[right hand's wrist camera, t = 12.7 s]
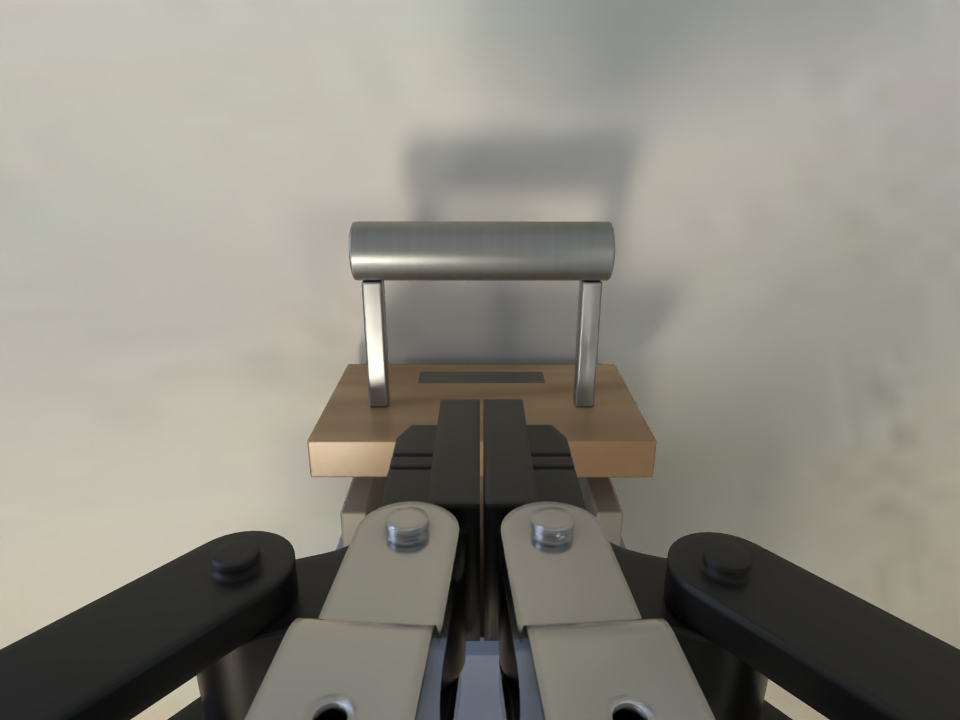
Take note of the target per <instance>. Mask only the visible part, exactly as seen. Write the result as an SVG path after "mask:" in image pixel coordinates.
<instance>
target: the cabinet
mask: <svg viewBox="0 0 960 720" xmlns="http://www.w3.org/2000/svg"><path fill="white" fill-rule="evenodd" d="M620 547H622V548H624V549H626V548H625V545H624V542H623V539H622V536H621V540H620ZM341 548H343V537H342V534H341V537H340V540H339V543H338V546H337V549H336V550H338V549H341ZM457 720H503V719H502V711H501V703H500V695H499V641H484V637H480V641H466V658H465V665H464V667H463V670H462V672H461V695H460V703H459V711H458V719H457Z"/></svg>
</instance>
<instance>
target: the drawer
mask: <svg viewBox="0 0 960 720" xmlns="http://www.w3.org/2000/svg"><path fill="white" fill-rule="evenodd" d="M349 259H350V267H351V272H352V275H353V278H354V279H355V280H363V282H362V297H363V313H364V329H365V345H366V361H367V364H349V365H348V366H347V368H346V370H345V372H344V373H343V375H342V377H341V379H340V381H339V383H338V385H337V387H336V388H335V390H334V392H333V394H332V396H331V398H330V400H329V402H328V403H327V405H326V407H325V409H324V411H323V413H322V415H321V417H320V418H319V420H318V422H317V424H316V426H315V428H314V430H313V432H312V433H311V435H310V437H309V439H308V441H307V443H308V453H309V462H310V472H311V477H353V479H352V482H351V485H350V488H349V491H348V494H347V496H346V499H345V502H344V505H343V508H342V511H341V513H340V514H341V525H342V537H343V548H344V547H346V546H348V545H350V542H351V540H352V538H353V535H354V533H355V531H356V528H357V526H358V525H359V523H360V522H361V520H362V519H363V518H364V517H365V516H367V515H368V514H369V513H371V512H373V511H374V510H376V509H378V508H379V505H380V501H381V497H382V493H383V489H384V486H385V482H386V478H387V474H388V470H389V466H390V462H391V458H392V457H393V451H394V447H395V443H396V439H397V438H398V437H399V436H400V435H401V434H402V433H403V432H404V431H406V430H407V429H408V428H409V427H410V426H411V425H437V423H438V416H439V408H440V401H441V399H480V637H484V530H483V399H523V405H524V411H525V418H526V425H552V426H554V427H555V428H556V429H557V430H558V431H559V432H560V433H562V434H563V435H564V436H565V437H566V438H567V441H568V444H569V448H570V452H571V457H572V459H573V463H574V469H575V470H576V474H577V478H578V481H579V485H580V489H581V492H582V496H583V500H584V504H585V507H586V511H587V512H589V513H591V514H592V515H593V516H595V517H596V518H597V519H598V520H599V522H600V523H601V525H602V526H603V528H604V531H605V533H606V535H607V538H608V540H609V541H610V542H611V543H613V544H615V545H617V546H620V540H621V529H622V518H623V513H622V510H621V507H620V504H619V502H618V499H617V496H616V493H615V491H614V488H613V485H612V482H611V480H610V477H652V476H653V469H654V460H655V450H656V440H655V438H654V436H653V434H652V432H651V431H650V429H649V427H648V425H647V423H646V421H645V420H644V418H643V416H642V414H641V412H640V410H639V408H638V407H637V405H636V403H635V401H634V399H633V397H632V396H631V394H630V392H629V390H628V388H627V386H626V385H625V383H624V381H623V379H622V377H621V375H620V374H619V372H618V370H617V368H616V366H615V365H614V364H597V354H598V339H599V323H600V308H601V293H602V282H601V281H607V280H609V279H610V277H611V275H612V272H613V267H614V259H615V235H614V229H613V226H612V224H611V223H610V222H353V223H352V226H351V229H350V235H349ZM384 280H580V283H579V301H578V320H577V338H576V357H575V364H388V348H387V328H386V308H385V289H384Z"/></svg>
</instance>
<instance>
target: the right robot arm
mask: <svg viewBox="0 0 960 720" xmlns="http://www.w3.org/2000/svg"><path fill="white" fill-rule="evenodd" d="M483 530H484V641H499V695H500V703H501V711H502V719H503V720H792V719H791V718H789V717H788V716H787V715H785V714H784V713H782V712H781V711H779V710H778V709H777V708H775V707H774V706H772V705H771V704H769V703H768V702H767V701H765V700H764V696H765V691H766V686H767V681H768V679H770V680H771V681H773V682H774V683H776V684H777V685H779V686H780V687H782V688H783V689H785V690H786V691H788V692H789V693H791V694H792V695H794V696H795V697H797V698H798V699H800V700H801V701H803V702H804V703H806V704H807V705H809V706H810V707H812V708H813V709H815V710H816V711H818V712H819V713H821V714H822V715H824V716H825V717H827V718H828V719H830V720H960V650H959V649H957V648H955V647H953V646H951V645H949V644H947V643H946V642H944V641H942V640H940V639H938V638H936V637H934V636H932V635H930V634H928V633H926V632H924V631H922V630H920V629H919V628H917V627H915V626H913V625H911V624H909V623H907V622H905V621H903V620H901V619H899V618H897V617H895V616H893V615H892V614H890V613H888V612H886V611H884V610H882V609H880V608H878V607H876V606H874V605H872V604H870V603H868V602H866V601H865V600H863V599H861V598H859V597H857V596H855V595H853V594H851V593H849V592H847V591H845V590H843V589H841V588H839V587H838V586H836V585H834V584H832V583H830V582H828V581H826V580H824V579H822V578H820V577H818V576H816V575H814V574H812V573H811V572H809V571H807V570H805V569H803V568H801V567H799V566H797V565H795V564H793V563H791V562H789V561H787V560H785V559H783V558H782V557H780V556H778V555H776V554H774V553H772V552H770V551H768V550H766V549H764V548H762V547H760V546H758V545H756V544H754V543H752V542H750V541H748V540H745V539H742V538H739V537H736V536H732V535H728V534H722V533H712V532H703V533H694V534H690V535H687V536H684V537H682V538H680V539H678V540H677V541H675V542H674V543H673V544H672V546H671V547H670V549H669V552H668V559H666V558H661V557H656V556H651V555H646V554H642V553H638V552H634V551H630V550H627V549H624V548H622V547H620V546H617V545H615V544H613V543H611V542H610V541H609V540H608V538H607V535H606V533H605V531H604V528H603V526H602V525H601V523H600V522H599V520H598V519H597V518H596V517H595V516H593V515H592V514H591V513H589V512H587V511H586V507H585V504H584V500H583V496H582V492H581V489H580V485H579V481H578V478H577V474H576V470H575V469H574V463H573V459H572V457H571V452H570V448H569V444H568V441H567V438H566V437H565V436H564V435H563V434H562V433H560V432H559V431H558V430H557V429H556V428H555V427H554V426H552V425H526V418H525V411H524V405H523V399H483ZM466 641H480V399H441V401H440V408H439V416H438V423H437V425H411V426H410V427H409V428H408V429H407V430H406V431H404V432H403V433H402V434H401V435H400V436H399V437H398V438H397V439H396V443H395V447H394V451H393V457H392V458H391V462H390V466H389V470H388V474H387V478H386V482H385V486H384V489H383V493H382V497H381V501H380V505H379V508H378V509H376V510H374V511H373V512H371V513H369V514H368V515H367V516H365V517H364V518H363V519H362V520H361V522H360V523H359V525H358V526H357V528H356V531H355V533H354V535H353V538H352V540H351V542H350V545H348V546H346V547H344V548H341V549H338V550H335V551H332V552H328V553H324V554H320V555H315V556H310V557H305V558H300V559H296V560H295V553H294V549H293V546H292V545H291V544H290V542H289V541H288V540H286V539H285V538H284V537H281V536H279V535H277V534H274V533H270V532H264V531H245V532H238V533H233V534H229V535H225V536H222V537H219V538H217V539H214V540H212V541H210V542H208V543H205V544H204V545H202V546H200V547H198V548H196V549H194V550H192V551H190V552H188V553H186V554H184V555H182V556H180V557H178V558H177V559H175V560H173V561H171V562H169V563H167V564H165V565H163V566H161V567H159V568H157V569H155V570H153V571H151V572H150V573H148V574H146V575H144V576H142V577H140V578H138V579H136V580H134V581H132V582H130V583H128V584H126V585H124V586H123V587H121V588H119V589H117V590H115V591H113V592H111V593H109V594H107V595H105V596H103V597H101V598H99V599H97V600H96V601H94V602H92V603H90V604H88V605H86V606H84V607H82V608H80V609H78V610H76V611H74V612H72V613H70V614H69V615H67V616H65V617H63V618H61V619H59V620H57V621H55V622H53V623H51V624H49V625H47V626H45V627H43V628H41V629H40V630H38V631H36V632H34V633H32V634H30V635H28V636H26V637H24V638H22V639H20V640H18V641H16V642H14V643H13V644H11V645H9V646H7V647H5V648H3V649H1V650H0V720H130V719H132V718H133V717H135V716H136V715H138V714H139V713H141V712H142V711H144V710H145V709H147V708H148V707H150V706H151V705H153V704H154V703H156V702H157V701H159V700H160V699H162V698H163V697H165V696H166V695H168V694H169V693H171V692H172V691H174V690H175V689H177V688H178V687H180V686H181V685H183V684H184V683H186V682H187V681H189V680H190V679H192V678H193V677H195V676H196V675H197V680H198V685H199V690H200V695H201V697H199V698H198V699H196V700H195V701H193V702H192V703H191V704H189V705H188V706H186V707H185V708H183V709H182V710H181V711H179V712H178V713H176V714H175V715H173V716H172V717H171V718H169V719H168V720H457V719H458V711H459V703H460V695H461V672H462V670H463V667H464V665H465V658H466Z"/></svg>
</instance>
